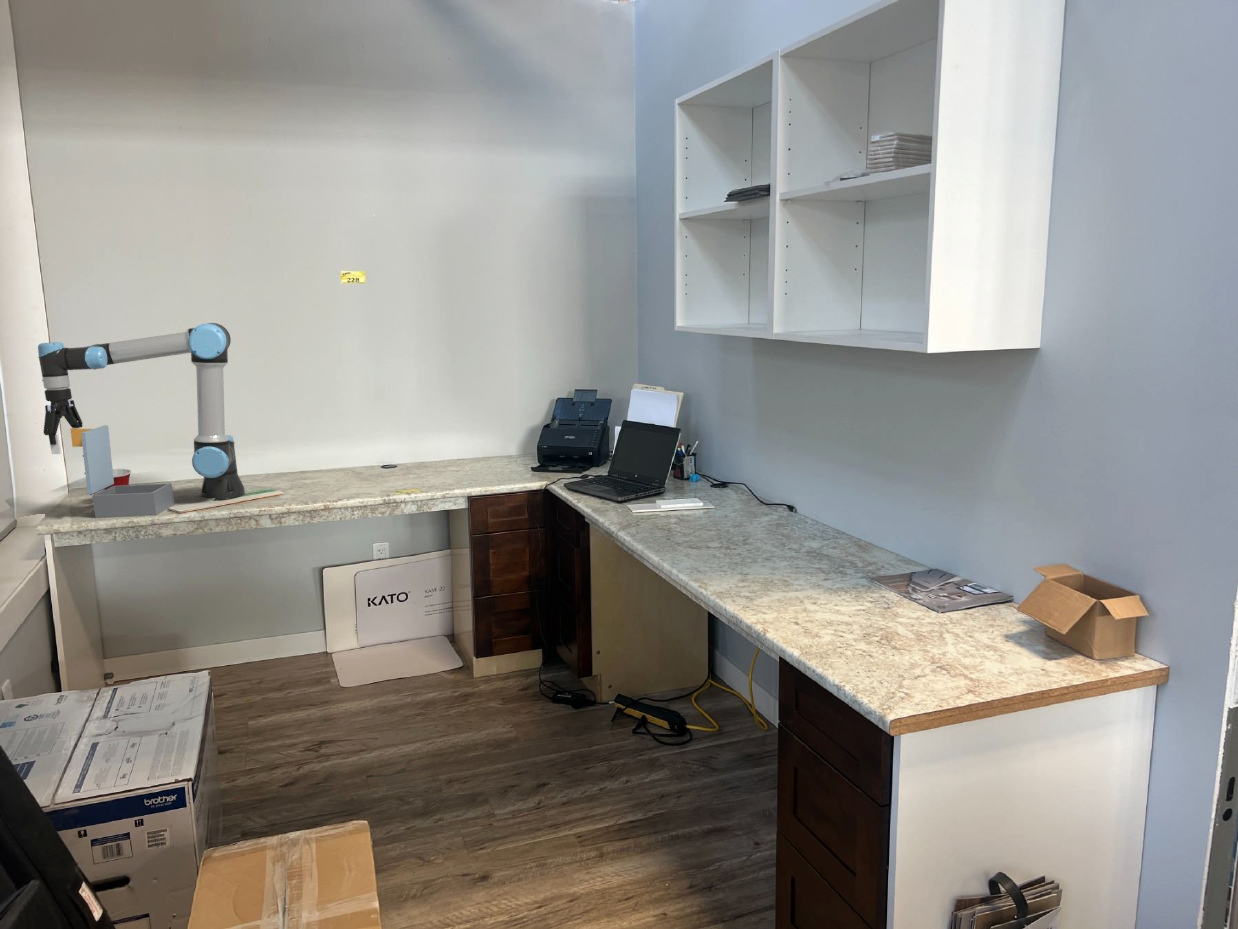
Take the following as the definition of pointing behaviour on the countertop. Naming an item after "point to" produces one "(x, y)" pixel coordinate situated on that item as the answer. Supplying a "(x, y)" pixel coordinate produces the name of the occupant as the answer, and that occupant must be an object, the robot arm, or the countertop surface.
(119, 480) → the plastic cup
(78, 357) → the robot arm
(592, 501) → the countertop surface
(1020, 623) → the countertop surface
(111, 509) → the tub
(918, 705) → the countertop surface
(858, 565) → the countertop surface
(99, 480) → the lid
